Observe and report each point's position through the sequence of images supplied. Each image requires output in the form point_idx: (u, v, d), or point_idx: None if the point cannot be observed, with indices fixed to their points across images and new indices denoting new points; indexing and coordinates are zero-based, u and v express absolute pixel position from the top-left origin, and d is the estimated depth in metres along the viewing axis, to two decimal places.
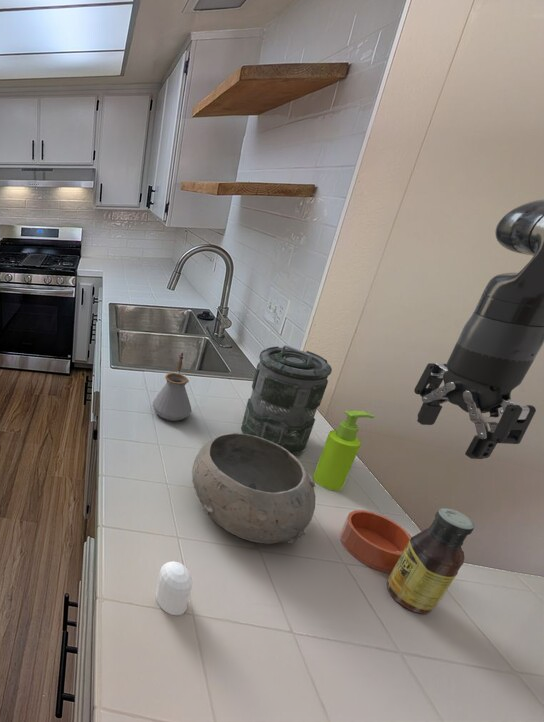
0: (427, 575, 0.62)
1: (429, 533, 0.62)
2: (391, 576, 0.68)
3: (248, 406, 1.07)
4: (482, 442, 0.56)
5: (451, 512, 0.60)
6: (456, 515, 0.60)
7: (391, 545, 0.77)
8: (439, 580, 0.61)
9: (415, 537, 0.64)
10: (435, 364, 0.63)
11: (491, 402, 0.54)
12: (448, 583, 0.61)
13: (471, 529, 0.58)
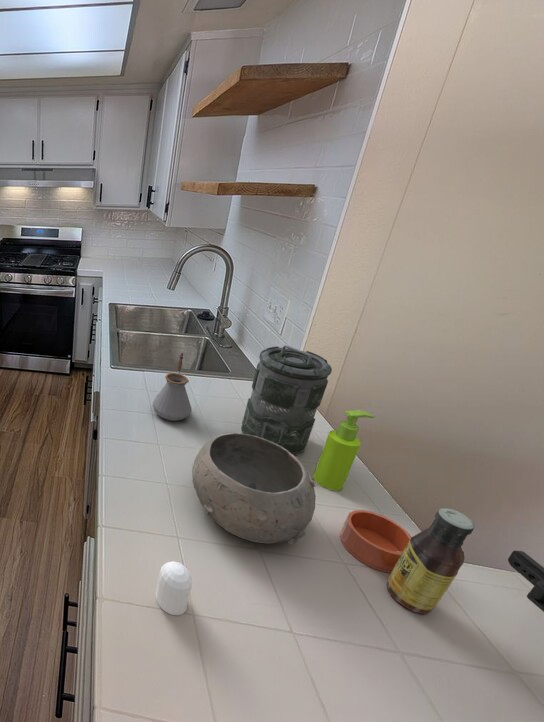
0: (427, 575, 0.62)
1: (429, 533, 0.62)
2: (391, 576, 0.68)
3: (248, 406, 1.07)
4: None
5: (451, 512, 0.60)
6: (456, 515, 0.60)
7: (391, 545, 0.77)
8: (439, 580, 0.61)
9: (415, 537, 0.64)
10: None
11: None
12: (448, 583, 0.61)
13: (471, 529, 0.58)
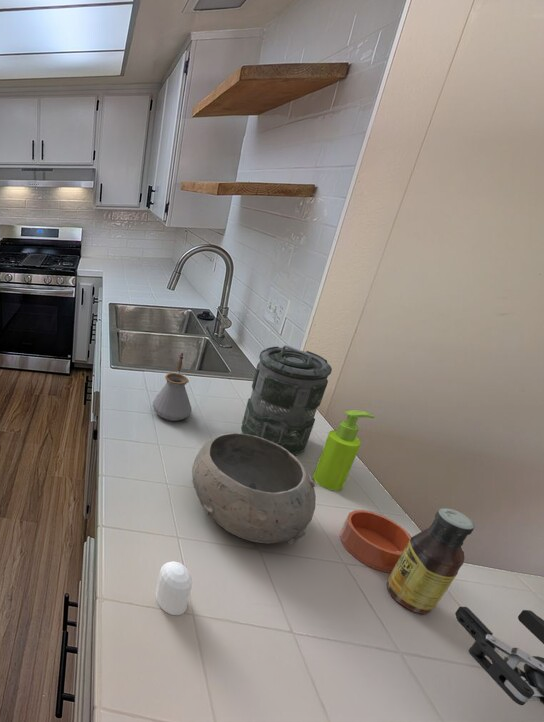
0: (427, 575, 0.62)
1: (429, 533, 0.62)
2: (391, 576, 0.68)
3: (248, 406, 1.07)
4: None
5: (451, 512, 0.60)
6: (456, 515, 0.60)
7: (391, 545, 0.77)
8: (439, 580, 0.61)
9: (415, 537, 0.64)
10: (524, 702, 0.46)
11: None
12: (448, 583, 0.61)
13: (471, 529, 0.58)
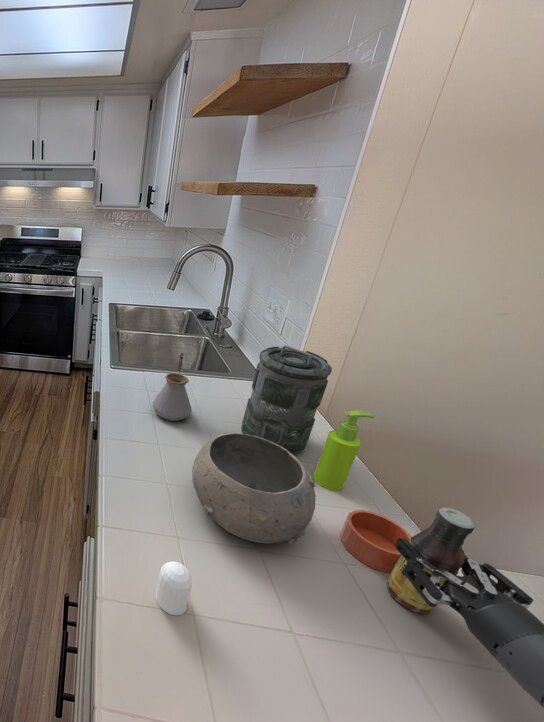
0: None
1: (430, 532, 0.62)
2: (391, 576, 0.68)
3: (248, 406, 1.07)
4: None
5: (451, 512, 0.61)
6: (456, 514, 0.60)
7: (391, 545, 0.77)
8: (439, 580, 0.61)
9: (415, 537, 0.64)
10: (435, 604, 0.57)
11: None
12: None
13: (472, 528, 0.58)
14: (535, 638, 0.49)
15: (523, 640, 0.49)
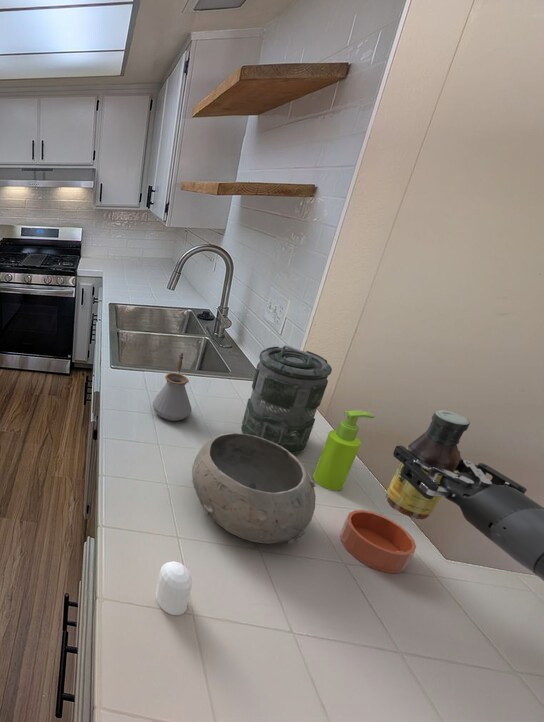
0: None
1: (426, 435, 0.64)
2: (390, 486, 0.70)
3: (248, 406, 1.07)
4: None
5: (447, 413, 0.62)
6: (452, 414, 0.62)
7: (391, 545, 0.77)
8: (436, 480, 0.63)
9: (413, 443, 0.66)
10: (432, 496, 0.58)
11: None
12: None
13: (467, 425, 0.60)
14: (528, 511, 0.50)
15: (516, 514, 0.51)
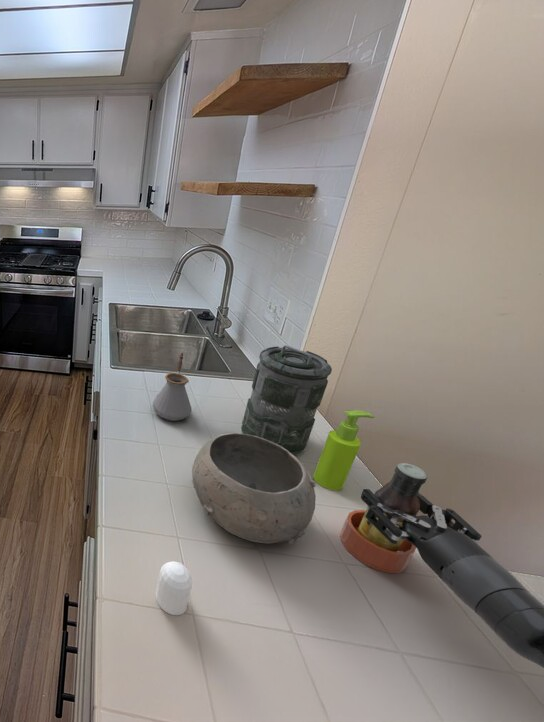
0: None
1: (390, 485, 0.70)
2: (359, 527, 0.76)
3: (248, 406, 1.07)
4: None
5: (408, 466, 0.69)
6: (412, 468, 0.68)
7: None
8: None
9: (379, 490, 0.73)
10: (396, 541, 0.64)
11: None
12: None
13: (424, 479, 0.66)
14: (473, 558, 0.57)
15: (463, 560, 0.57)
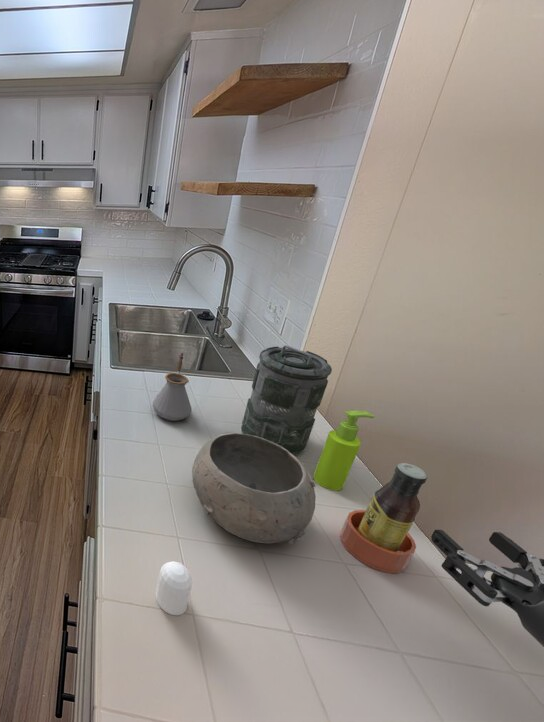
0: (388, 522, 0.70)
1: (390, 485, 0.70)
2: (359, 527, 0.76)
3: (248, 406, 1.07)
4: None
5: (408, 466, 0.69)
6: (412, 468, 0.68)
7: None
8: (398, 526, 0.70)
9: (379, 490, 0.73)
10: (489, 603, 0.51)
11: None
12: (406, 529, 0.70)
13: (424, 479, 0.66)
14: None
15: None
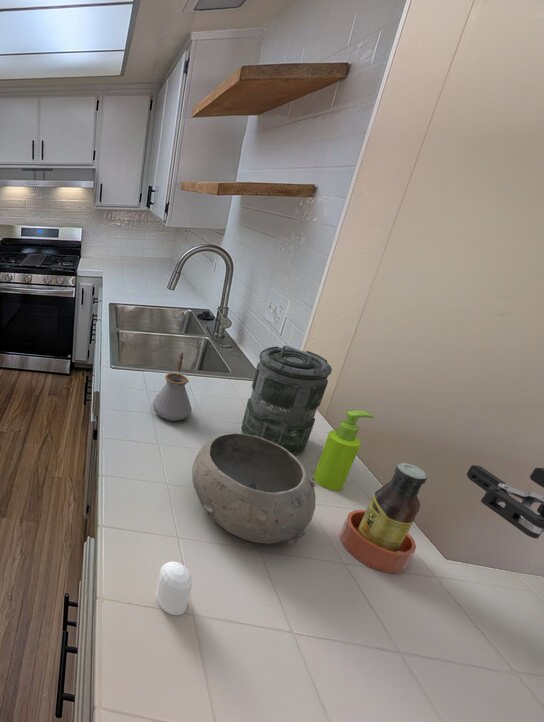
0: (388, 522, 0.70)
1: (390, 485, 0.70)
2: (359, 527, 0.76)
3: (248, 406, 1.07)
4: None
5: (408, 466, 0.69)
6: (412, 468, 0.68)
7: None
8: (398, 526, 0.70)
9: (379, 490, 0.73)
10: (538, 535, 0.46)
11: None
12: (406, 529, 0.70)
13: (424, 479, 0.66)
14: None
15: None
